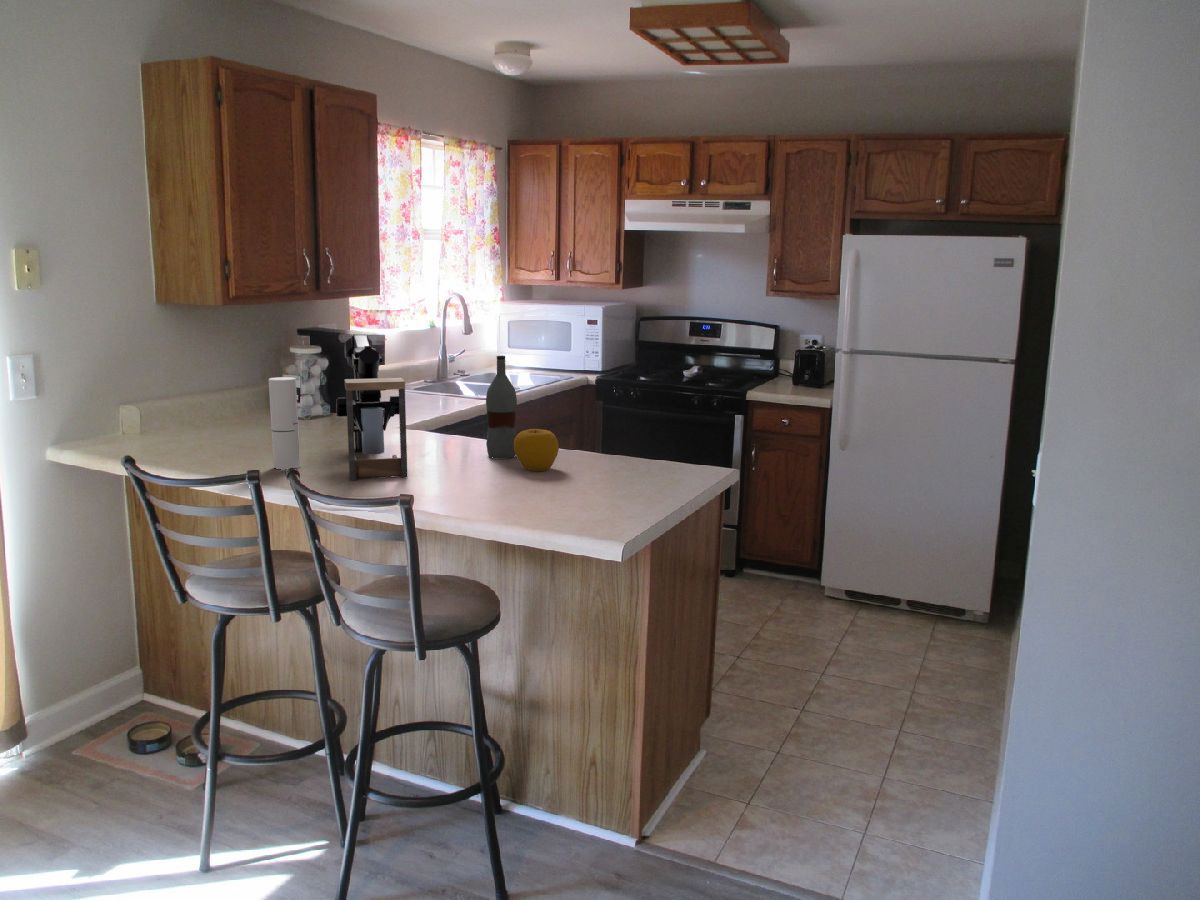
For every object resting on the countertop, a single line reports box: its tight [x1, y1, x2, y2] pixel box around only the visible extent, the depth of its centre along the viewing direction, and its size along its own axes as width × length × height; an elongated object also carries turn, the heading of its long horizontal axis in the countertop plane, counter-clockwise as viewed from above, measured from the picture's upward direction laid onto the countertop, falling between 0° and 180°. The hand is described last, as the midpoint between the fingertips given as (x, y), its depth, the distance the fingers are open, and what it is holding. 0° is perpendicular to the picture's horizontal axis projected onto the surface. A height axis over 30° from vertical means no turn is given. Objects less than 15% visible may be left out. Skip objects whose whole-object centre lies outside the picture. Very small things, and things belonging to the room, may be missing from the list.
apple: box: [514, 428, 559, 473], centre depth 270 cm, size 13×13×11 cm
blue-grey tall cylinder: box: [361, 407, 385, 456], centre depth 271 cm, size 6×6×12 cm
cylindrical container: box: [268, 376, 301, 471], centre depth 268 cm, size 7×7×25 cm
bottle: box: [485, 355, 518, 459], centre depth 286 cm, size 9×9×30 cm
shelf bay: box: [344, 377, 408, 482], centre depth 261 cm, size 15×15×26 cm
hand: (373, 430), depth 270 cm, fingers closed on blue-grey tall cylinder, 6 cm apart
